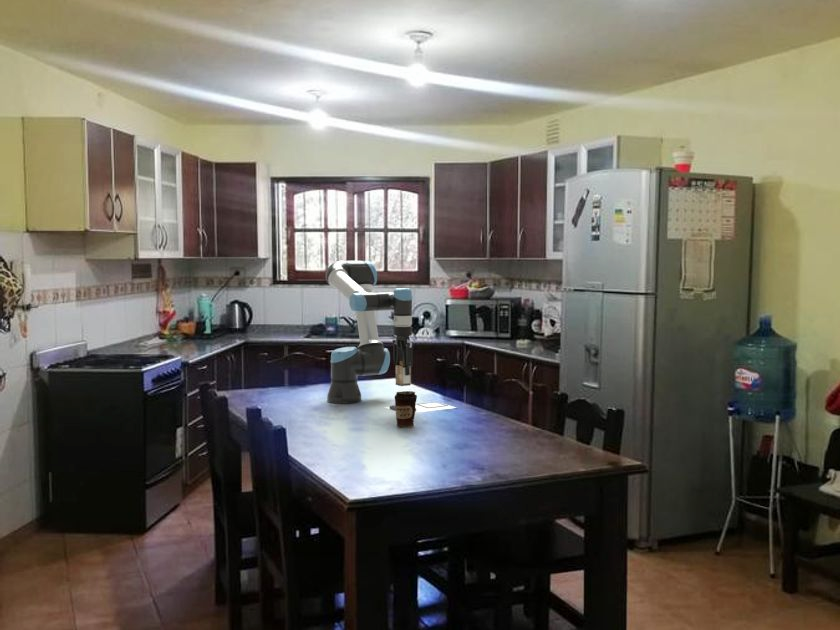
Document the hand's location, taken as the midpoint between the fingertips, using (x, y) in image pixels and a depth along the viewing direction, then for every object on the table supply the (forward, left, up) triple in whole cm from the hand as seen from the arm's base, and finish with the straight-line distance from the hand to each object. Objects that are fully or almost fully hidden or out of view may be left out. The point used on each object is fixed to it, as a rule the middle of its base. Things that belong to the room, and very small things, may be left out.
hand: (403, 382), depth 315 cm
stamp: (0, 0, -1) cm, 1 cm away
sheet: (-1, +9, -12) cm, 15 cm away
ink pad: (0, 0, -12) cm, 12 cm away
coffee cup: (+26, -14, -12) cm, 32 cm away
